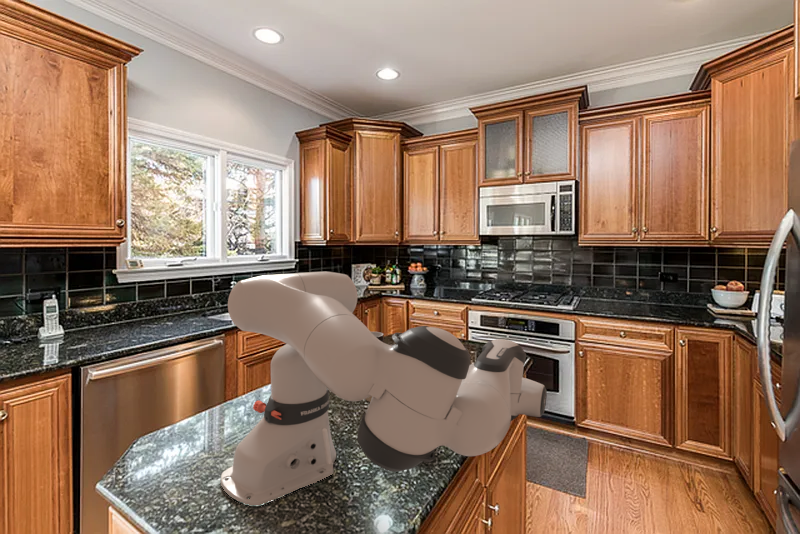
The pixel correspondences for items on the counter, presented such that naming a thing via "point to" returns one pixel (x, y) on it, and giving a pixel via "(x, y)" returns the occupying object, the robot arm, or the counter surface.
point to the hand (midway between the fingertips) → (440, 374)
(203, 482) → the counter surface
